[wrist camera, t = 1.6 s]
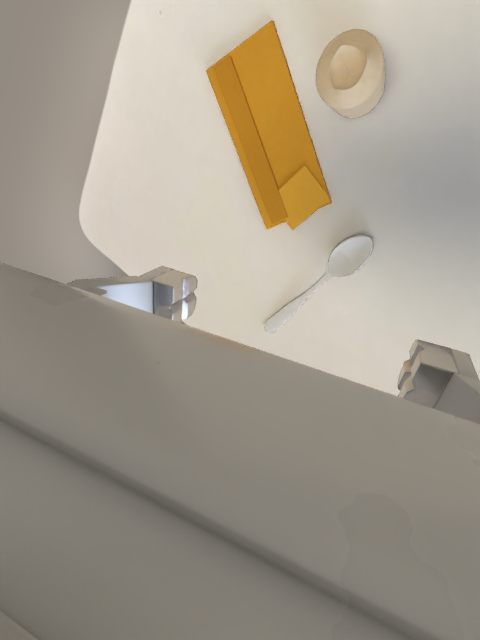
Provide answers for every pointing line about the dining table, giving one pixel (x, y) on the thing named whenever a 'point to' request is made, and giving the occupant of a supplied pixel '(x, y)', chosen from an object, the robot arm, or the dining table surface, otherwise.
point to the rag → (269, 129)
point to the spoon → (329, 274)
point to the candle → (351, 73)
